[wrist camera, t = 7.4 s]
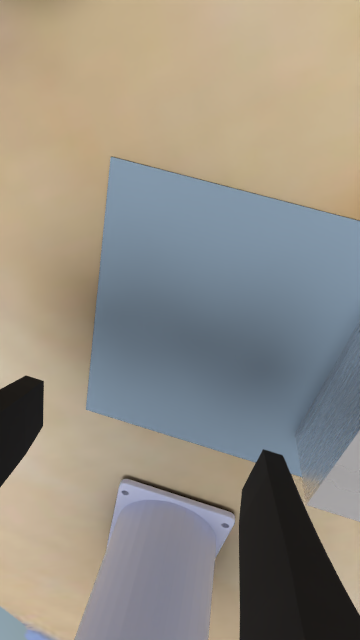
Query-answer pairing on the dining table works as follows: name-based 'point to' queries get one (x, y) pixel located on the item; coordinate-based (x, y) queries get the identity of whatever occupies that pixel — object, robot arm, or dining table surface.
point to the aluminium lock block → (334, 438)
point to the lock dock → (218, 310)
